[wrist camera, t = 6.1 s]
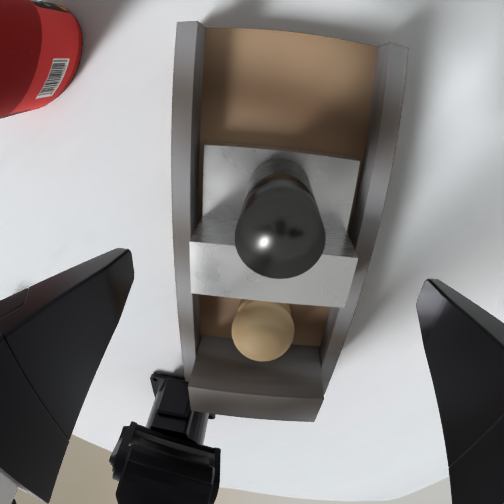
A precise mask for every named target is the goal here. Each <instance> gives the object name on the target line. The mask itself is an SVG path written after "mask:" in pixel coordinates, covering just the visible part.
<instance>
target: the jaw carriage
mask: <svg viewBox="0 0 504 504" xmlns="http://www.w3.org/2000/svg"><path fill="white" fill-rule="evenodd" d="M359 165H360V161H359V160H358V159H357V158H356V157H351V156H345V155H338V154H331V153H324V152H317V151H309V150H300V149H292V148H283V147H273V146H262V145H250V144H237V143H221V142H207V143H206V144H205V145H204V166H203V217H202V219H201V221H200V222H199V224H198V226H197V228H196V230H195V232H194V234H193V236H192V238H191V239H190V241H189V246H190V280H191V293H194V294H202V295H211V296H220V297H229V298H238V299H248V300H258V301H268V302H279V303H290V304H301V305H314V306H327V307H340V308H345V304H346V301H347V298H348V294H349V291H350V287H351V284H352V280H353V276H354V273H355V269H356V265H357V261H358V256H357V254H356V251H355V249H354V247H353V244H352V242H351V240H350V237H349V235H348V233H347V228H348V223H349V219H350V214H351V209H352V204H353V198H354V193H355V188H356V182H357V177H358V171H359Z"/></svg>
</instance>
